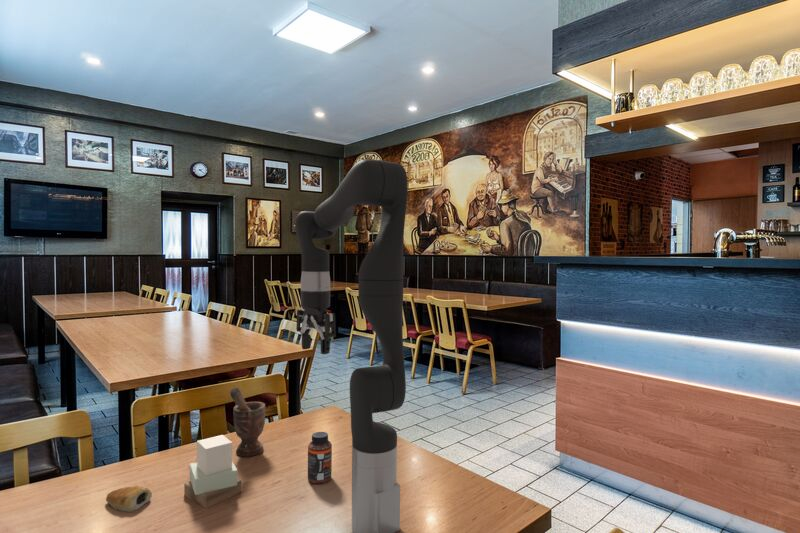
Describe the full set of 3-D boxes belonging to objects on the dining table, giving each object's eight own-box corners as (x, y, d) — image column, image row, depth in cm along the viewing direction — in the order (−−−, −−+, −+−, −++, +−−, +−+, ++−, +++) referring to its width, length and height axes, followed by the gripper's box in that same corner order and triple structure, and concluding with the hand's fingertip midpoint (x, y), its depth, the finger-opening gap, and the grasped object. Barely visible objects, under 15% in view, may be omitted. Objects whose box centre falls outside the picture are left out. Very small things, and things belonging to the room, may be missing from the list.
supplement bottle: (326, 486, 113) (326, 439, 113) (303, 483, 115) (303, 437, 114) (334, 474, 119) (335, 430, 119) (313, 472, 121) (313, 428, 120)
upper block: (237, 485, 108) (237, 470, 108) (195, 495, 103) (195, 479, 103) (229, 469, 116) (229, 455, 116) (189, 478, 111) (189, 463, 111)
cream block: (232, 467, 109) (232, 442, 109) (205, 475, 105) (205, 449, 105) (222, 459, 114) (222, 434, 113) (196, 466, 110) (196, 440, 109)
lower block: (241, 494, 111) (241, 479, 110) (206, 511, 103) (206, 495, 103) (219, 483, 116) (219, 469, 116) (184, 498, 108) (184, 483, 108)
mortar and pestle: (258, 462, 126) (258, 389, 125) (226, 463, 125) (226, 389, 125) (267, 445, 137) (268, 377, 137) (237, 446, 137) (237, 378, 136)
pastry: (97, 508, 103) (97, 491, 103) (122, 493, 110) (122, 477, 110) (131, 514, 101) (131, 497, 101) (155, 499, 107) (155, 483, 107)
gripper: (344, 289, 118) (343, 353, 119) (312, 286, 129) (311, 345, 129) (319, 291, 113) (319, 357, 114) (288, 288, 123) (287, 349, 124)
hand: (315, 351), depth 121 cm, fingers open, 8 cm apart
